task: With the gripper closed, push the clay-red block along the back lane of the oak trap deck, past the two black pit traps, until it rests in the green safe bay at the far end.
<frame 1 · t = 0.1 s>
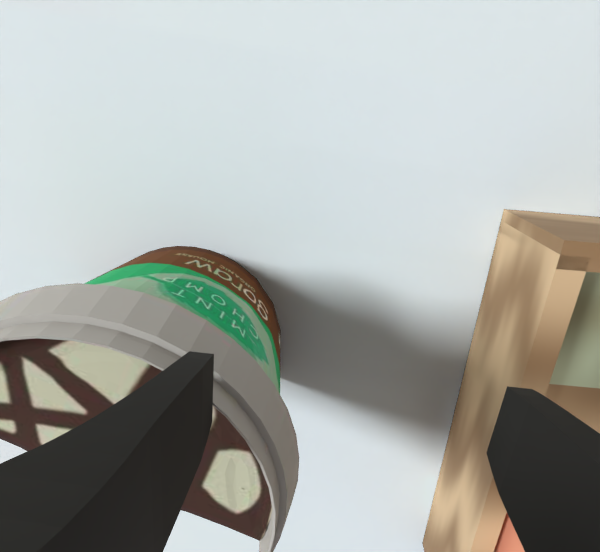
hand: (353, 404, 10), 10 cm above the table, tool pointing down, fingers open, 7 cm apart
food container: (210, 287, 21), on the table
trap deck: (591, 420, 22), on the table
clay-red block: (529, 508, 21), point 2 cm above the table, touching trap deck
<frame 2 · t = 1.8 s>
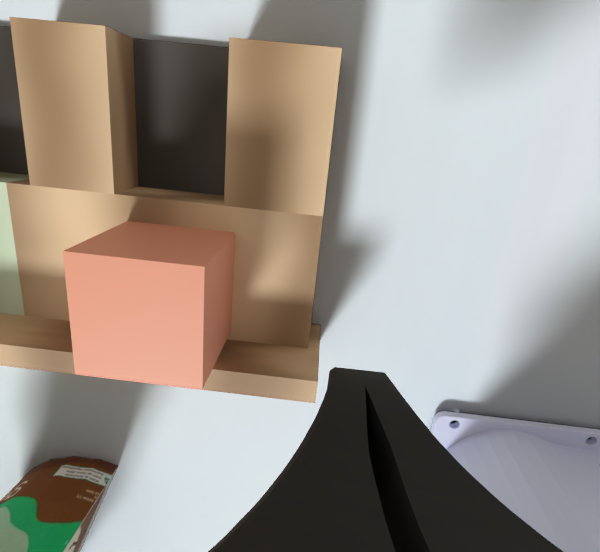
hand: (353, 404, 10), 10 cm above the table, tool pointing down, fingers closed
food container: (51, 494, 27), on the table
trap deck: (118, 183, 20), on the table
clay-red block: (181, 277, 18), point 2 cm above the table, touching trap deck
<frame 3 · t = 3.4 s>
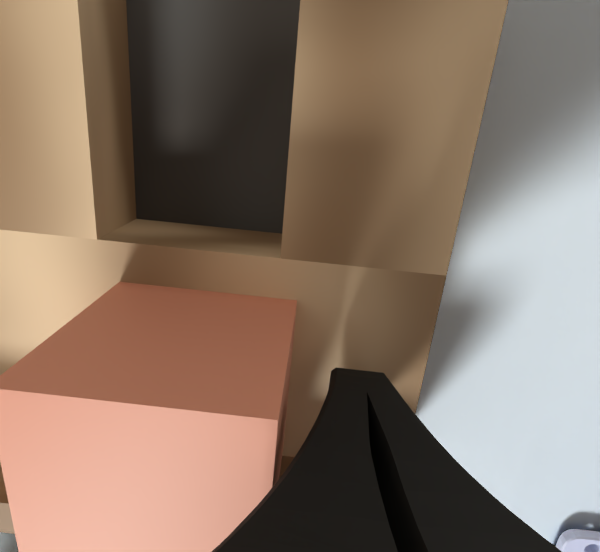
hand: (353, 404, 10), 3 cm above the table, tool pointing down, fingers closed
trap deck: (106, 214, 13), on the table
clay-red block: (206, 367, 11), point 3 cm above the table, touching gripper, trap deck
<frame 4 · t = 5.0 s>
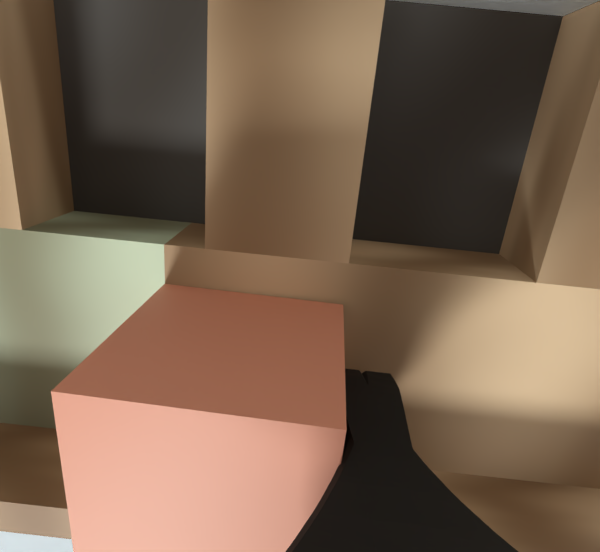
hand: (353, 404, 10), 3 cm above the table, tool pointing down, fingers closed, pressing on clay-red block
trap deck: (310, 233, 13), on the table
clay-red block: (248, 371, 11), point 3 cm above the table, touching gripper, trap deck
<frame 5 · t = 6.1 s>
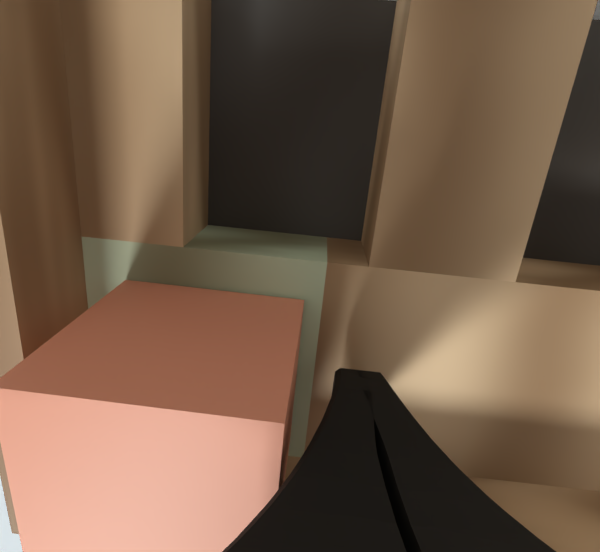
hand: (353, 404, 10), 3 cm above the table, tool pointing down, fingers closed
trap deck: (445, 247, 12), on the table
clay-red block: (212, 367, 11), point 3 cm above the table, touching gripper, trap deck
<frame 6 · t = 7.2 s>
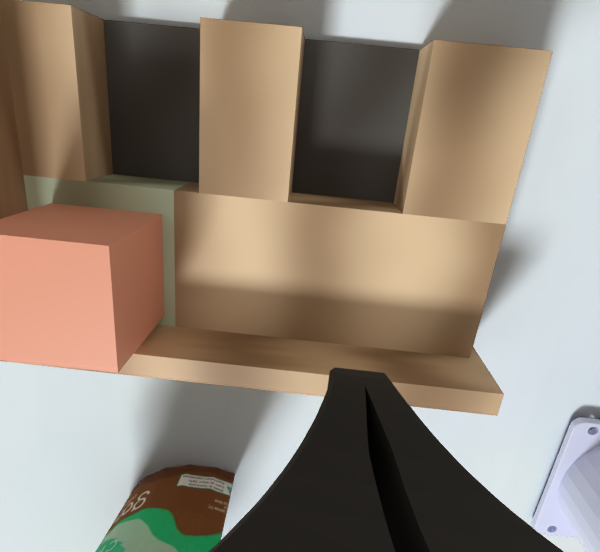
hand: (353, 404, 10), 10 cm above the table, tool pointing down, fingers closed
food container: (160, 503, 26), on the table
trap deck: (269, 189, 19), on the table
clay-red block: (110, 261, 18), point 2 cm above the table, touching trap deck
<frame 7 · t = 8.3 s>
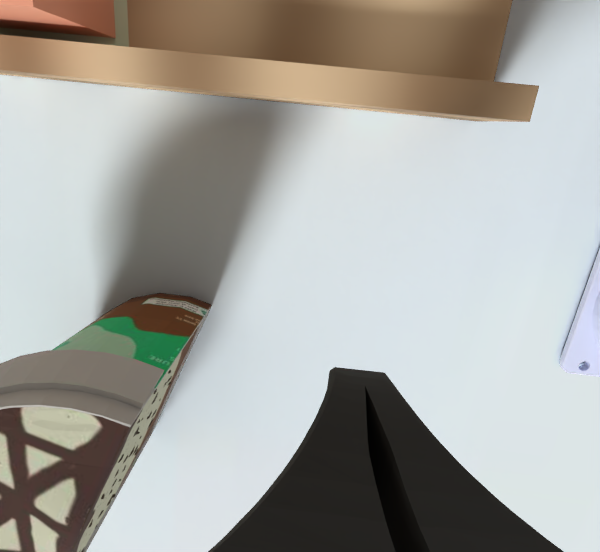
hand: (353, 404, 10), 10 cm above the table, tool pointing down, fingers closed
food container: (128, 348, 23), on the table
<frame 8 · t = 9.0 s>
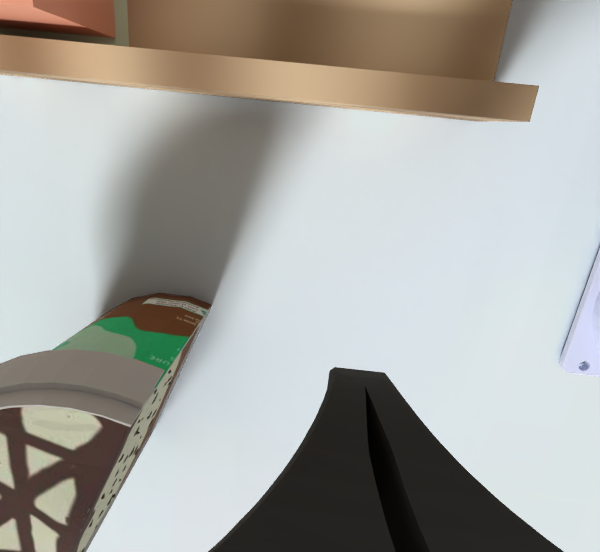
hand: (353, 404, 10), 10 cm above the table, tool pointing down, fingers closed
food container: (128, 348, 23), on the table
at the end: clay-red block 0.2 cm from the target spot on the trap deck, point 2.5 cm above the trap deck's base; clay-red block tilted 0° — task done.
